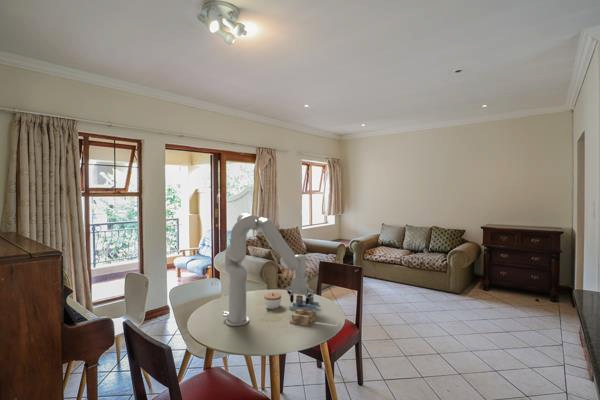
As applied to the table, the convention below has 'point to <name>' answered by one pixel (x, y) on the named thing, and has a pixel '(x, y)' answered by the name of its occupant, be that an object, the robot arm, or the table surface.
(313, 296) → the cell
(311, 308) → the trough board
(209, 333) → the table surface
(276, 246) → the robot arm
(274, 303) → the lidded jar
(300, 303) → the cell
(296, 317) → the cradle
